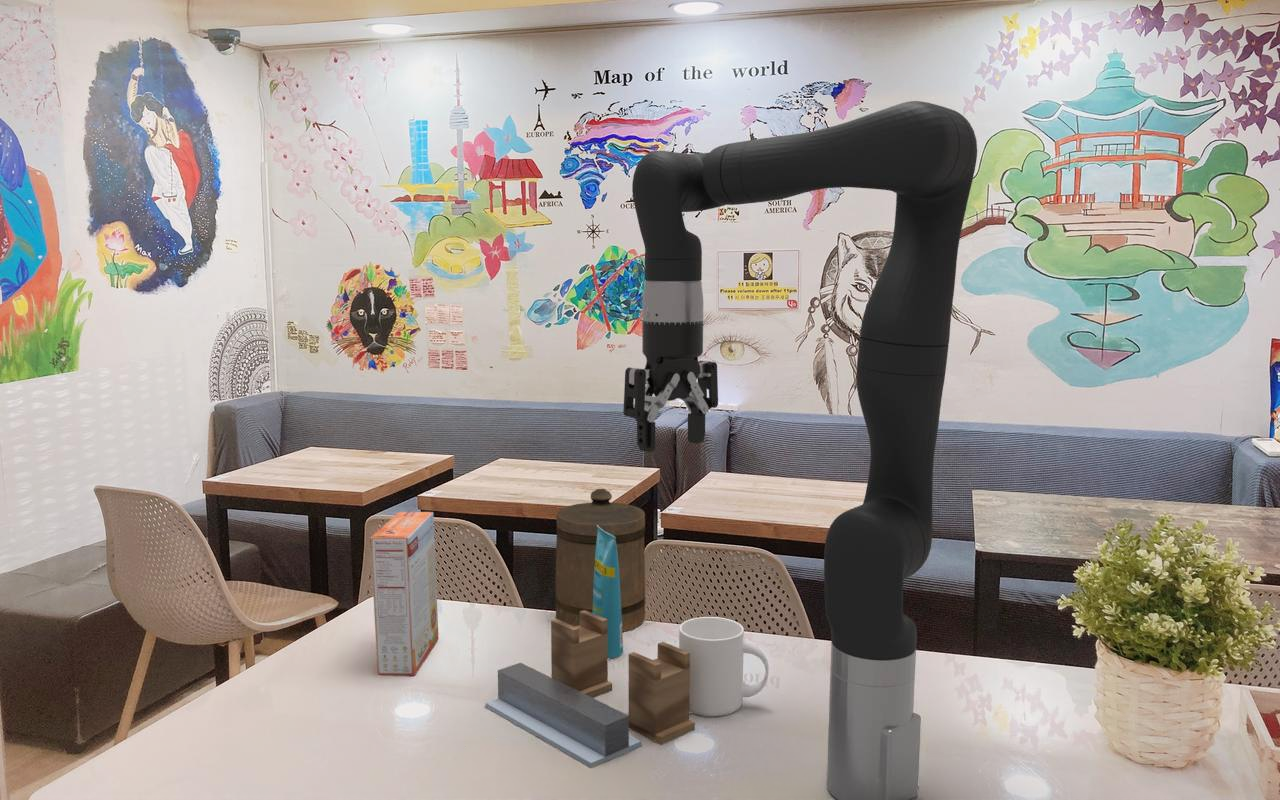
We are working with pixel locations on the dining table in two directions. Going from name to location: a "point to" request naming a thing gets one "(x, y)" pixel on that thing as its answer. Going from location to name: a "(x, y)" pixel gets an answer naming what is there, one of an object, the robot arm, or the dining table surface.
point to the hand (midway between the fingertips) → (672, 446)
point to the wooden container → (579, 557)
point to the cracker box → (404, 592)
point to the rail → (564, 709)
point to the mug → (718, 664)
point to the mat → (555, 735)
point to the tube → (608, 590)
